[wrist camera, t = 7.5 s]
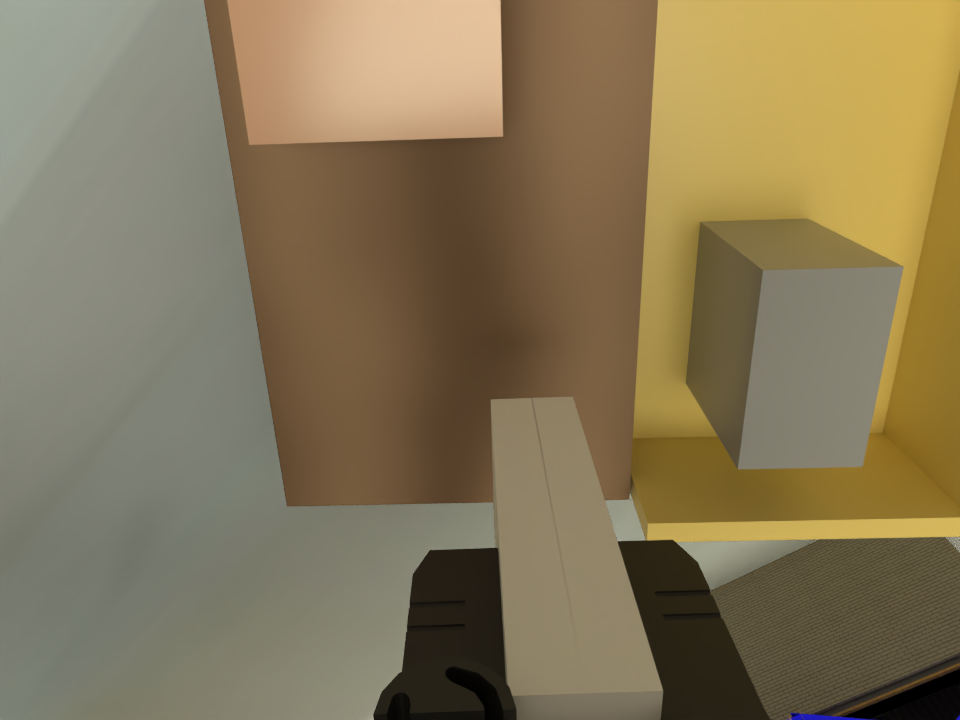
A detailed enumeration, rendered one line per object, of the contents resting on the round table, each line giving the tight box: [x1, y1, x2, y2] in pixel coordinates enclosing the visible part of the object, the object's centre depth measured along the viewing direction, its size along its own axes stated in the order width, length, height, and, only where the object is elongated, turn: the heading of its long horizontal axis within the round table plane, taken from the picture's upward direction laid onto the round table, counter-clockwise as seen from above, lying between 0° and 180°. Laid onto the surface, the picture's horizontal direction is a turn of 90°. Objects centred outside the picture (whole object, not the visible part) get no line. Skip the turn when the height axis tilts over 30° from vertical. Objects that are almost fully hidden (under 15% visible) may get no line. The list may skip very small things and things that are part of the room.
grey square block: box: [686, 219, 904, 469], centre depth 19 cm, size 5×5×3 cm
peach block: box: [227, 0, 503, 145], centre depth 14 cm, size 5×5×3 cm
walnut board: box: [204, 0, 658, 506], centre depth 19 cm, size 10×18×3 cm, turn 2°
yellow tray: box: [630, 0, 960, 542], centre depth 18 cm, size 9×18×5 cm, turn 2°
